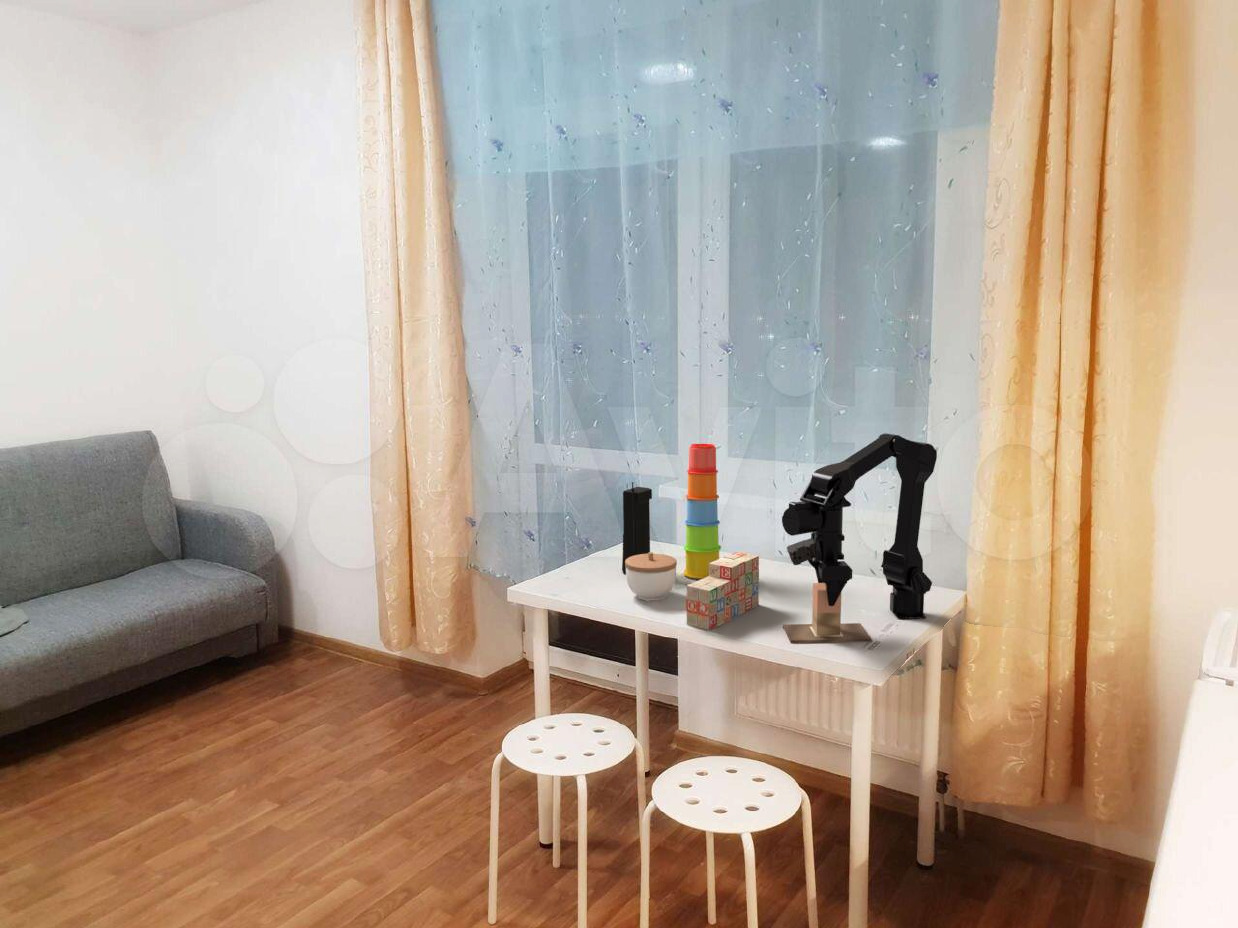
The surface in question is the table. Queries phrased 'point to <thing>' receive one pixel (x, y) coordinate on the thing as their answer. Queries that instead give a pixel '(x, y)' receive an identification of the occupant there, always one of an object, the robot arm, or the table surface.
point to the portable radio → (636, 522)
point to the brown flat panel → (808, 635)
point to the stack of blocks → (724, 591)
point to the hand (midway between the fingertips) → (827, 599)
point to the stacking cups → (701, 511)
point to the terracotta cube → (824, 600)
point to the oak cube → (826, 623)
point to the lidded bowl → (651, 575)
